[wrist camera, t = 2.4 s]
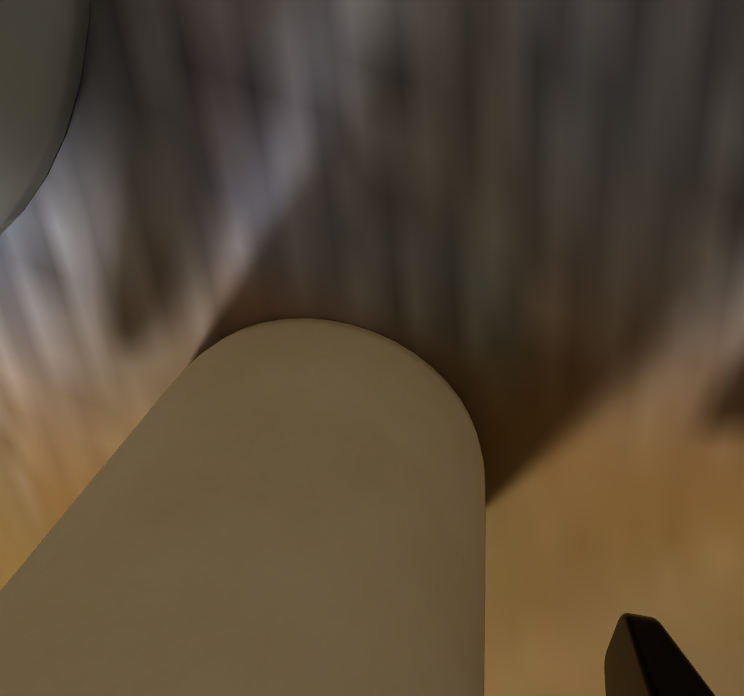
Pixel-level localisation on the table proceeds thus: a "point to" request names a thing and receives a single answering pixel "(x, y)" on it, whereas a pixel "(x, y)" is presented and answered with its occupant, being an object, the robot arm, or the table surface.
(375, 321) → the table surface
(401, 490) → the candle
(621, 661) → the robot arm
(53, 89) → the slate plate
